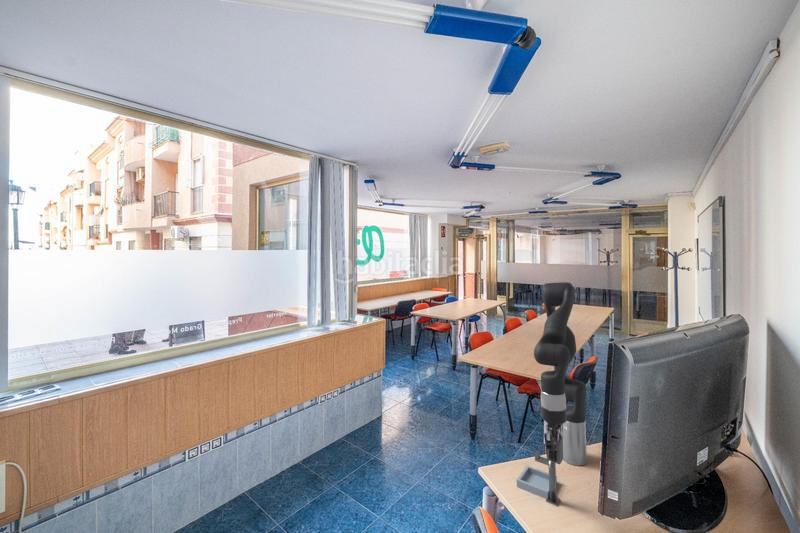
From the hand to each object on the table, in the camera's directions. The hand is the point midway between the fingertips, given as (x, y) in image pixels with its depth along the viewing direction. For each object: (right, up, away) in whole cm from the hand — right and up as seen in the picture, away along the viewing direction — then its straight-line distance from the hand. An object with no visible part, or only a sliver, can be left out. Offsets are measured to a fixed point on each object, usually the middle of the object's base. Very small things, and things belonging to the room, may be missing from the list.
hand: (554, 456), depth 108 cm
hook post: (+1, -19, +8) cm, 21 cm away
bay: (0, -19, +15) cm, 24 cm away
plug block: (0, -1, 0) cm, 1 cm away
